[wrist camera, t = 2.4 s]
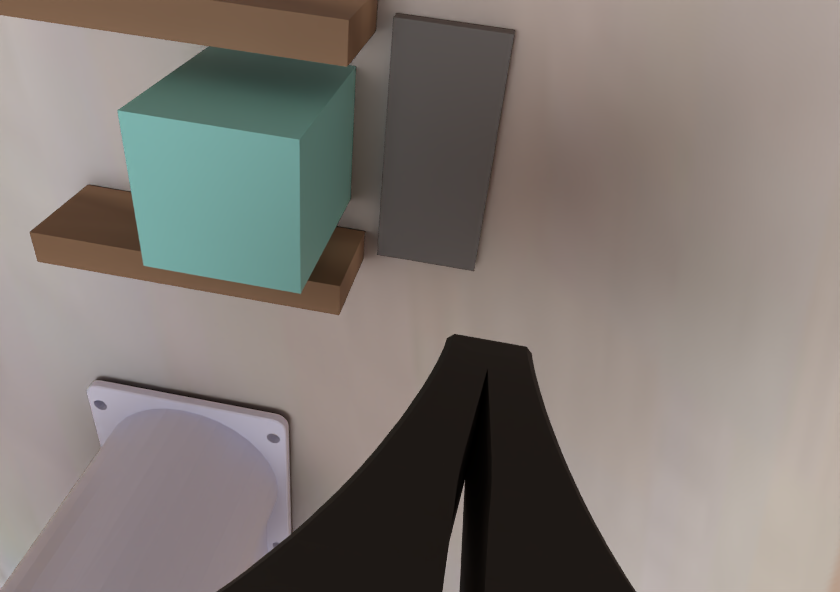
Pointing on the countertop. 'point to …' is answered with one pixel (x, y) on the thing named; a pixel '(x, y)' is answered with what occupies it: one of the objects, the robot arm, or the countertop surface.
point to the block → (241, 165)
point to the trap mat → (440, 137)
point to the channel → (217, 27)
